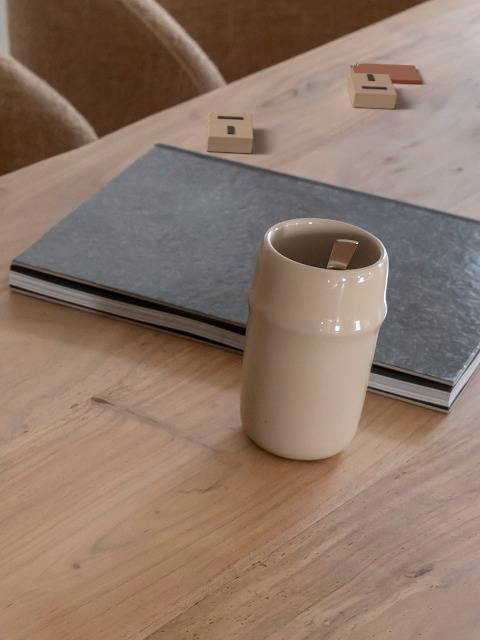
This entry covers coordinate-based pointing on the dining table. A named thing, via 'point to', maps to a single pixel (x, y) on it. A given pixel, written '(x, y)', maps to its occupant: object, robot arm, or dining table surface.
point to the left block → (229, 132)
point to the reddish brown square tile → (391, 72)
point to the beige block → (371, 90)
